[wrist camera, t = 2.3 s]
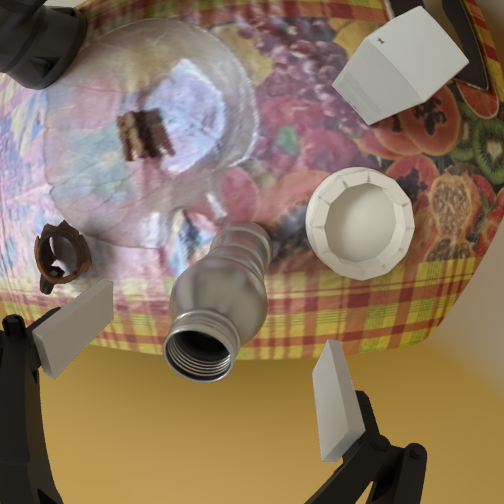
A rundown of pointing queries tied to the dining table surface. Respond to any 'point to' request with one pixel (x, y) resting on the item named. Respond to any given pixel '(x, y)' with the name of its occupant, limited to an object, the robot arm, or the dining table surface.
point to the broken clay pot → (47, 257)
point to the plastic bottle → (219, 304)
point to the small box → (399, 66)
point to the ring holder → (359, 223)
